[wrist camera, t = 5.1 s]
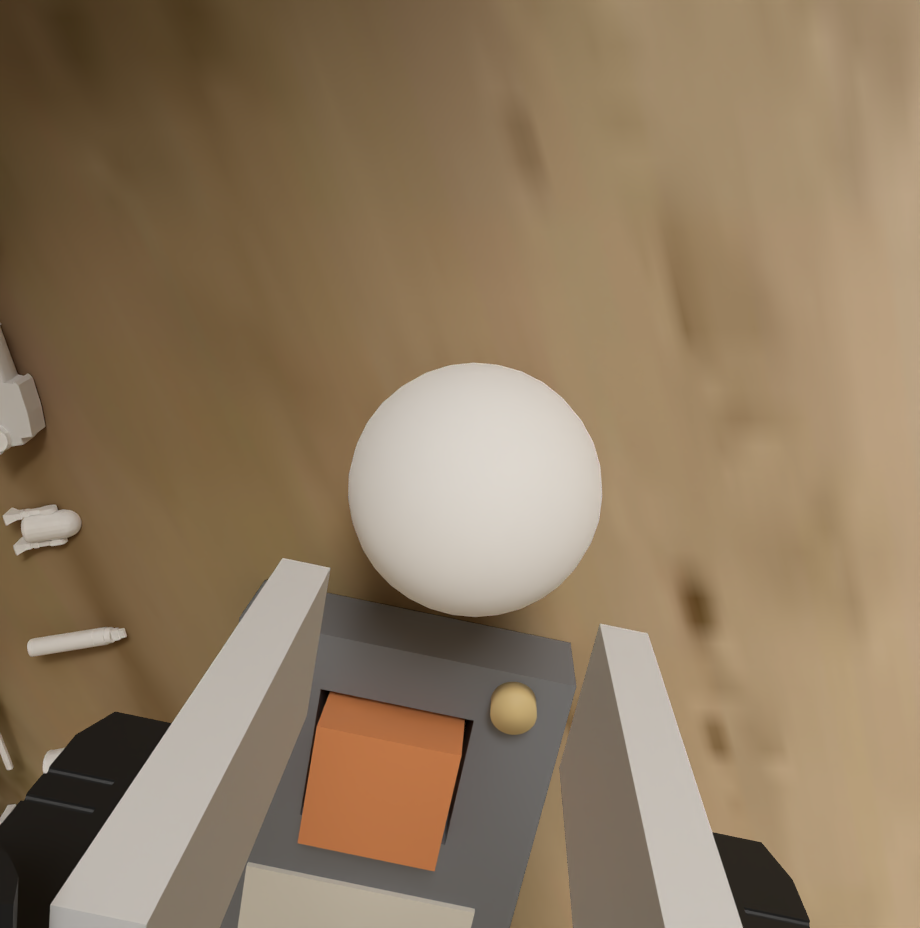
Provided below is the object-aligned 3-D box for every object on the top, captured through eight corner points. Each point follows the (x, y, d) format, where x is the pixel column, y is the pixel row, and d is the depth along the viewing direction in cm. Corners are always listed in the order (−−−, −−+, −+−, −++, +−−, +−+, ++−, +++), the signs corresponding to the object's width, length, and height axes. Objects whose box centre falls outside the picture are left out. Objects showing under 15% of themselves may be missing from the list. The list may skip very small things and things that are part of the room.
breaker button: (340, 663, 31) (316, 726, 27) (467, 689, 31) (461, 755, 27) (322, 769, 33) (297, 843, 29) (443, 794, 33) (434, 871, 29)
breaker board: (265, 579, 31) (231, 628, 27) (570, 643, 31) (578, 699, 27) (213, 967, 37) (180, 1049, 33) (469, 1020, 37) (464, 1108, 33)
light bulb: (360, 370, 28) (270, 462, 18) (536, 293, 27) (550, 343, 17) (438, 532, 30) (397, 704, 19) (606, 466, 29) (660, 611, 18)
